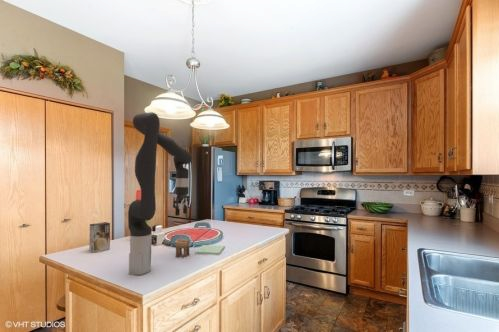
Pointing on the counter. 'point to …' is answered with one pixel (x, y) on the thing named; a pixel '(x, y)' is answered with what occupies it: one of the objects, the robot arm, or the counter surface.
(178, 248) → the walnut stool
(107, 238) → the coffee box
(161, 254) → the counter surface
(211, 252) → the sage mat
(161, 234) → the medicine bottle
